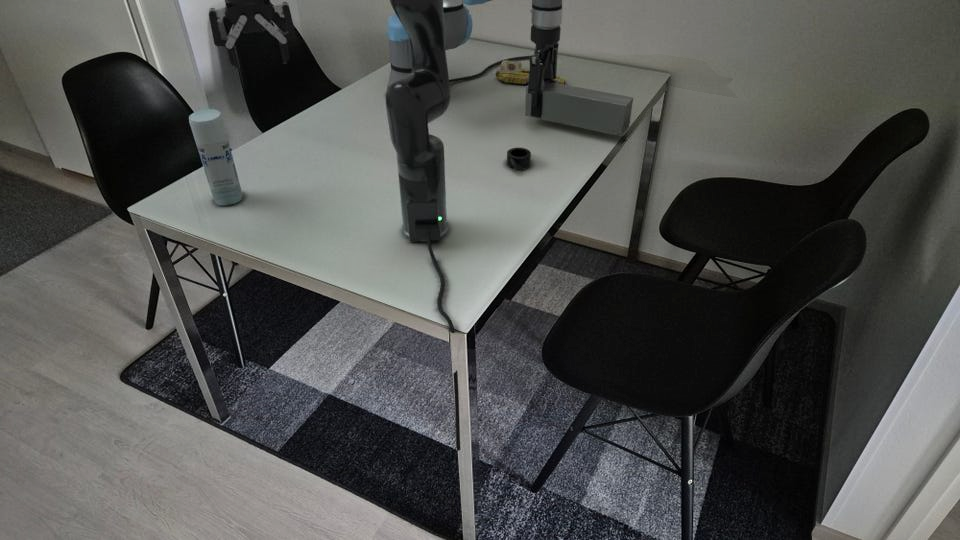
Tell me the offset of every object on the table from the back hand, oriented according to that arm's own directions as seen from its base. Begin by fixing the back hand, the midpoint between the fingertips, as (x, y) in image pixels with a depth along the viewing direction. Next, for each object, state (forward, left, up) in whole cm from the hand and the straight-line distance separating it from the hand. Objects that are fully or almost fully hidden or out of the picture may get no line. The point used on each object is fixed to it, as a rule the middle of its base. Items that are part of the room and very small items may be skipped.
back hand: (540, 111), depth 172 cm
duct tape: (+24, +8, -3) cm, 26 cm away
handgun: (-27, -19, -3) cm, 33 cm away
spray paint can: (+75, -38, -3) cm, 84 cm away
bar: (-1, +10, -1) cm, 10 cm away
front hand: (+71, -22, +30) cm, 80 cm away
